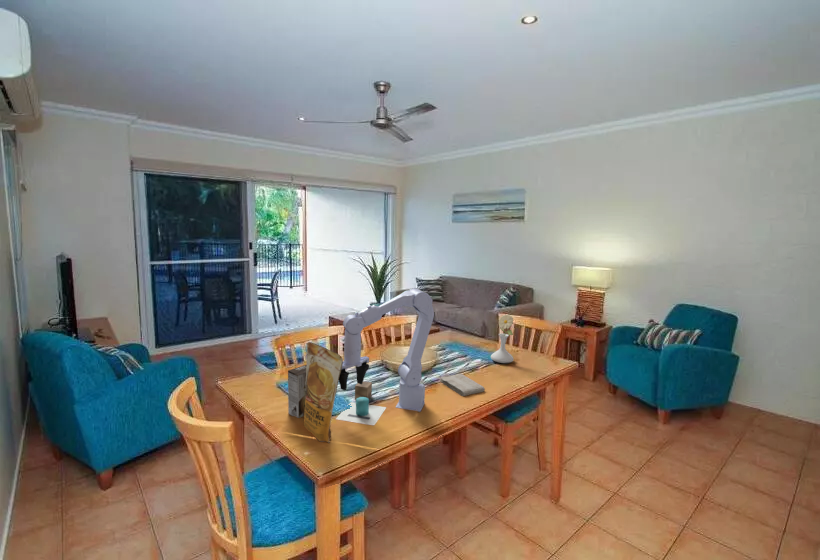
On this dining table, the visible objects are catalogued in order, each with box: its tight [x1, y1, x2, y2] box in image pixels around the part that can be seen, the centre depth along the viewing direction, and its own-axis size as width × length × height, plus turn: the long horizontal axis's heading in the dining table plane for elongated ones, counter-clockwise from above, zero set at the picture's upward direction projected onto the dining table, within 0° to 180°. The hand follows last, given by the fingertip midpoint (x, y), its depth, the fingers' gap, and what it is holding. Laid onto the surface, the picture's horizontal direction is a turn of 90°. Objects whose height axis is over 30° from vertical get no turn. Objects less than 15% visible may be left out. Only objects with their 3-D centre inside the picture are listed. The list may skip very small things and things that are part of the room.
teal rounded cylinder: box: [355, 397, 370, 416], centre depth 145 cm, size 4×4×5 cm
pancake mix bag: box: [303, 341, 344, 443], centre depth 131 cm, size 7×19×28 cm, turn 40°
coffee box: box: [287, 364, 306, 419], centre depth 144 cm, size 9×6×16 cm
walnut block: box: [354, 380, 373, 400], centre depth 158 cm, size 5×5×6 cm
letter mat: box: [335, 401, 387, 426], centre depth 145 cm, size 14×14×1 cm
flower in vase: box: [490, 314, 514, 364], centre depth 205 cm, size 13×11×25 cm
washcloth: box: [439, 373, 486, 397], centre depth 174 cm, size 12×18×3 cm, turn 31°
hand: (351, 386), depth 145 cm, fingers open, 7 cm apart
